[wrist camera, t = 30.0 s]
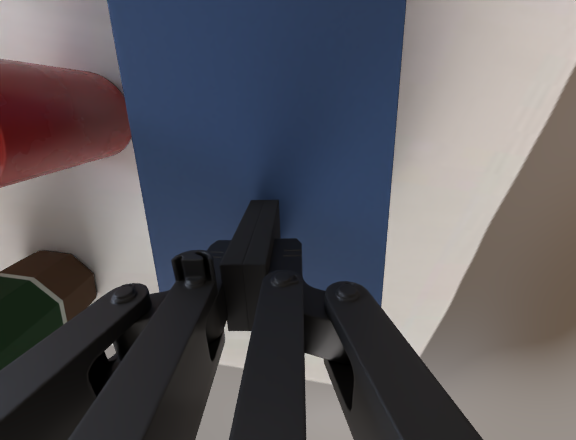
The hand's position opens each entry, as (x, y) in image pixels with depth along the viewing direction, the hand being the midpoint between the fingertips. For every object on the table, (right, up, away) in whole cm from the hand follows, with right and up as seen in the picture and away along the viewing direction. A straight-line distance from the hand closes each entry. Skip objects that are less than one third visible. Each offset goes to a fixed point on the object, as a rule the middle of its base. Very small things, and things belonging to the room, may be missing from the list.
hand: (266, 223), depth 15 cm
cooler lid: (0, +5, 0) cm, 5 cm away
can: (-15, +9, +8) cm, 19 cm away
